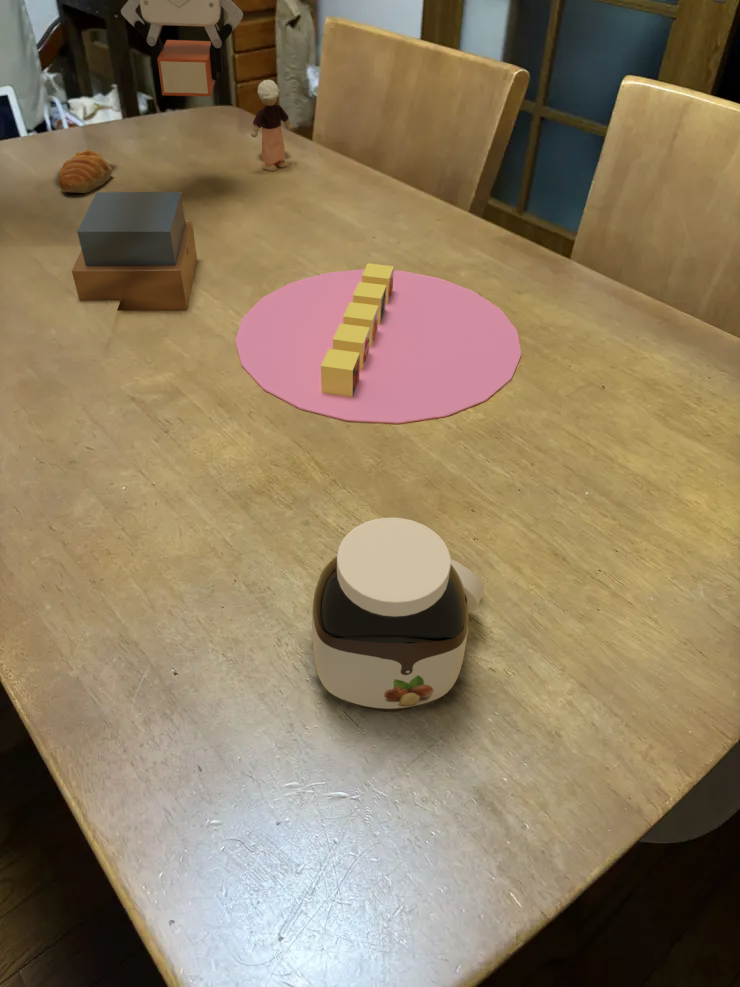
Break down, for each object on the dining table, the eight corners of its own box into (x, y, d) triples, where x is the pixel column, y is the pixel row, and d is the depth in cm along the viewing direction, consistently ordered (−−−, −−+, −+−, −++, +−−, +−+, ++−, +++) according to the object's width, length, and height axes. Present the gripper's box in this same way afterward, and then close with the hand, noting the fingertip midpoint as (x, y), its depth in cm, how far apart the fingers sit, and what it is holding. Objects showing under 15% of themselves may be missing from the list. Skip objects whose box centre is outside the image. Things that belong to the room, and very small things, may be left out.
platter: (191, 398, 75) (186, 369, 73) (282, 257, 98) (280, 232, 96) (511, 445, 71) (517, 417, 69) (528, 287, 94) (533, 261, 92)
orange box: (162, 95, 101) (157, 58, 98) (171, 75, 109) (166, 39, 106) (210, 96, 102) (207, 59, 99) (216, 76, 109) (213, 41, 106)
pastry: (94, 198, 110) (87, 172, 108) (49, 196, 111) (42, 169, 108) (115, 175, 117) (110, 149, 115) (73, 172, 118) (67, 147, 115)
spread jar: (311, 717, 50) (305, 607, 42) (319, 585, 58) (315, 472, 50) (491, 719, 50) (519, 610, 42) (473, 587, 58) (494, 475, 50)
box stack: (80, 311, 87) (61, 236, 81) (101, 259, 96) (85, 189, 90) (187, 310, 88) (176, 235, 82) (198, 259, 97) (188, 189, 91)
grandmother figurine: (278, 157, 125) (274, 72, 116) (296, 163, 123) (293, 77, 114) (247, 170, 120) (240, 83, 111) (265, 176, 118) (260, 88, 110)
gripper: (93, -84, 89) (121, 83, 101) (241, -78, 90) (251, 86, 102) (105, -91, 94) (130, 68, 107) (244, -85, 96) (253, 72, 108)
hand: (189, 76), depth 104 cm, fingers closed on orange box, 6 cm apart
